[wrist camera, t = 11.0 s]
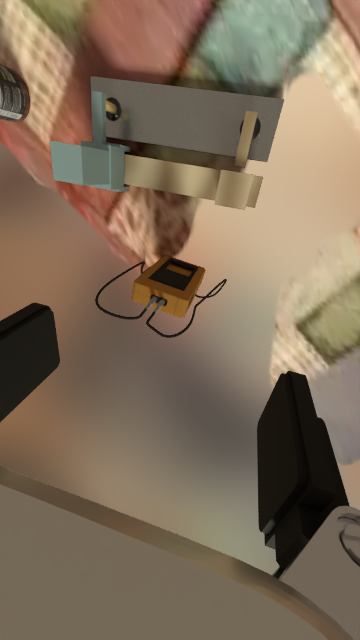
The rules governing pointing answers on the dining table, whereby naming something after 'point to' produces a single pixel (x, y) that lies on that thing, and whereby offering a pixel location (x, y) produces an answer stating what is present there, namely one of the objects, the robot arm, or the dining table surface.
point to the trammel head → (92, 154)
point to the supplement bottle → (13, 96)
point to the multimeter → (166, 289)
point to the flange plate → (187, 117)
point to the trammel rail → (200, 175)
